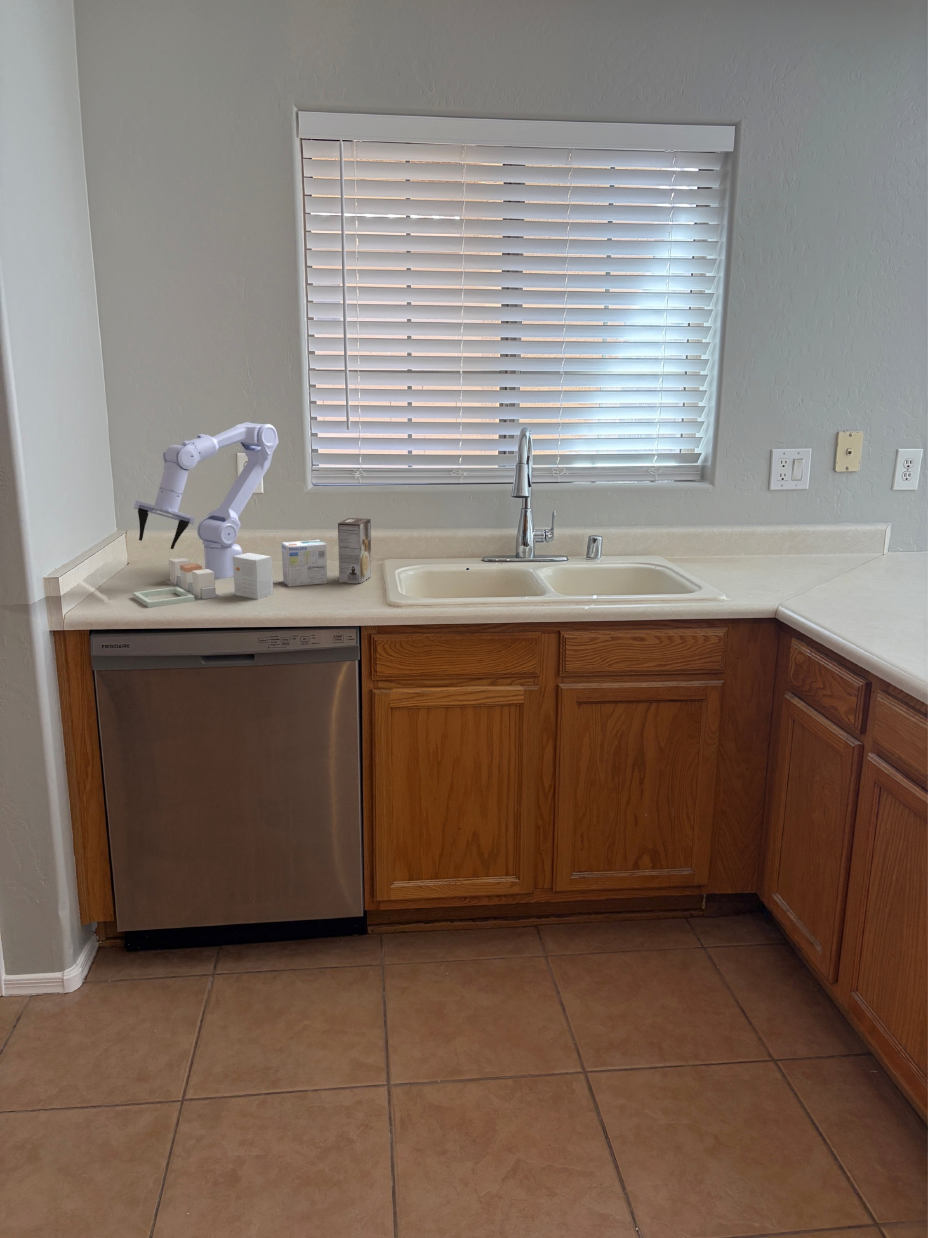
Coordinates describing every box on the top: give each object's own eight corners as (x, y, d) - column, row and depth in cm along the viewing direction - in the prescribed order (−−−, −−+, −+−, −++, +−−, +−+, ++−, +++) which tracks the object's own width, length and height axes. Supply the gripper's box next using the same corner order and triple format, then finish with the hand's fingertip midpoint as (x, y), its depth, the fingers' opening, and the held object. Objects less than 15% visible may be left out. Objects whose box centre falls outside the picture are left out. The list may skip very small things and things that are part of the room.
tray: (178, 594, 228) (177, 586, 228) (194, 604, 220) (194, 596, 219) (133, 600, 222) (132, 592, 222) (148, 610, 214) (148, 602, 213)
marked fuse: (197, 586, 234) (195, 562, 232) (203, 589, 231) (201, 565, 229) (181, 588, 232) (179, 564, 230) (187, 591, 229) (185, 567, 227)
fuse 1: (185, 579, 240) (184, 557, 239) (191, 582, 237) (189, 560, 235) (170, 581, 238) (168, 558, 236) (175, 584, 235) (174, 561, 233)
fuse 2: (209, 592, 228) (207, 568, 226) (215, 595, 225) (214, 571, 223) (193, 594, 226) (192, 570, 224) (199, 598, 222) (198, 573, 221)
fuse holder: (187, 581, 242) (186, 569, 241) (221, 599, 225) (220, 586, 224) (165, 584, 238) (164, 571, 238) (197, 603, 221) (197, 589, 220)
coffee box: (349, 575, 253) (348, 517, 249) (371, 576, 252) (371, 518, 248) (338, 582, 245) (337, 522, 240) (361, 584, 243) (360, 523, 239)
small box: (274, 598, 227) (272, 556, 225) (257, 602, 223) (256, 560, 220) (250, 593, 232) (249, 552, 229) (234, 597, 227) (232, 555, 224)
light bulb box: (320, 578, 249) (319, 538, 246) (328, 583, 243) (327, 543, 240) (281, 581, 245) (280, 541, 242) (288, 587, 239) (287, 546, 236)
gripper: (140, 481, 223) (125, 535, 223) (200, 499, 228) (186, 552, 227) (141, 484, 230) (126, 537, 229) (199, 501, 234) (185, 553, 234)
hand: (156, 544), depth 229 cm, fingers open, 7 cm apart
